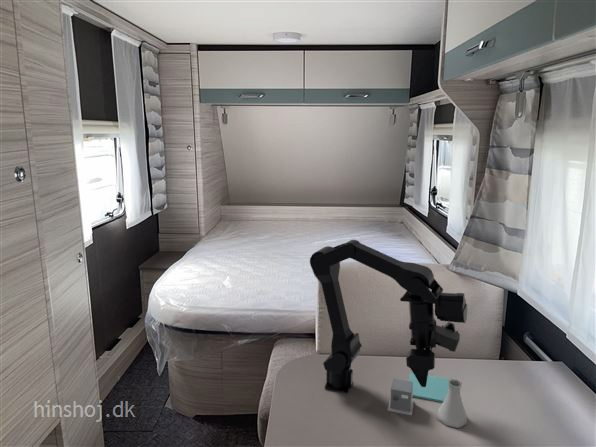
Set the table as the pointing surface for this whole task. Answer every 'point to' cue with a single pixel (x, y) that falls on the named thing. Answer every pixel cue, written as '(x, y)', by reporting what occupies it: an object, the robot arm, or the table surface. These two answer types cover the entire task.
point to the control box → (401, 397)
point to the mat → (430, 388)
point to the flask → (453, 407)
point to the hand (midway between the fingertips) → (425, 376)
